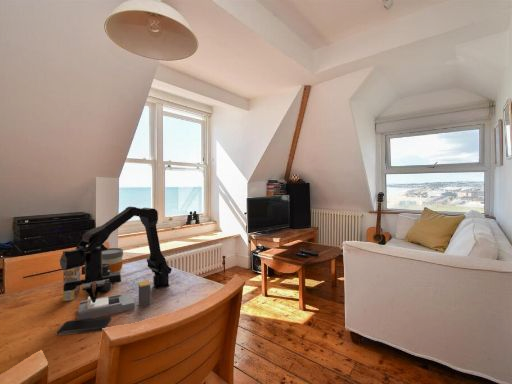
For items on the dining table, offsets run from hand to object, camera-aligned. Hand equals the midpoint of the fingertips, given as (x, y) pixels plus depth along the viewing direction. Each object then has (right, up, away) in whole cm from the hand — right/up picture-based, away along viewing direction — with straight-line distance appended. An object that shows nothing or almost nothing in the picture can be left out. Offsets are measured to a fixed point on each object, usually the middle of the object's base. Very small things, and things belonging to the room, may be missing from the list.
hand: (93, 302), depth 101 cm
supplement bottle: (-8, -3, +20) cm, 22 cm away
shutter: (+1, -1, +1) cm, 2 cm away
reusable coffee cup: (-13, -3, +33) cm, 36 cm away
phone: (+3, -5, -10) cm, 12 cm away
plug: (+17, -4, +7) cm, 19 cm away
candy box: (-18, -3, +13) cm, 22 cm away
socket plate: (+4, -4, +3) cm, 6 cm away
